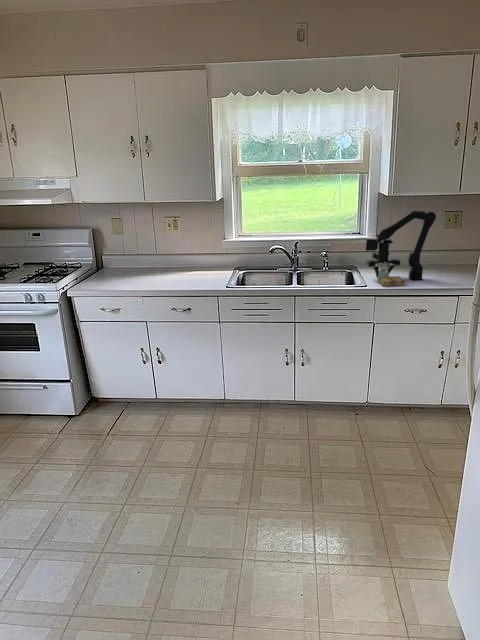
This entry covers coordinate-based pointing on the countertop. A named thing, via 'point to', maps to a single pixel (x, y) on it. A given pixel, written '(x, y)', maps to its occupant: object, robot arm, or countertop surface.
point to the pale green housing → (383, 273)
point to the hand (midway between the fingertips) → (382, 276)
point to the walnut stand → (391, 281)
